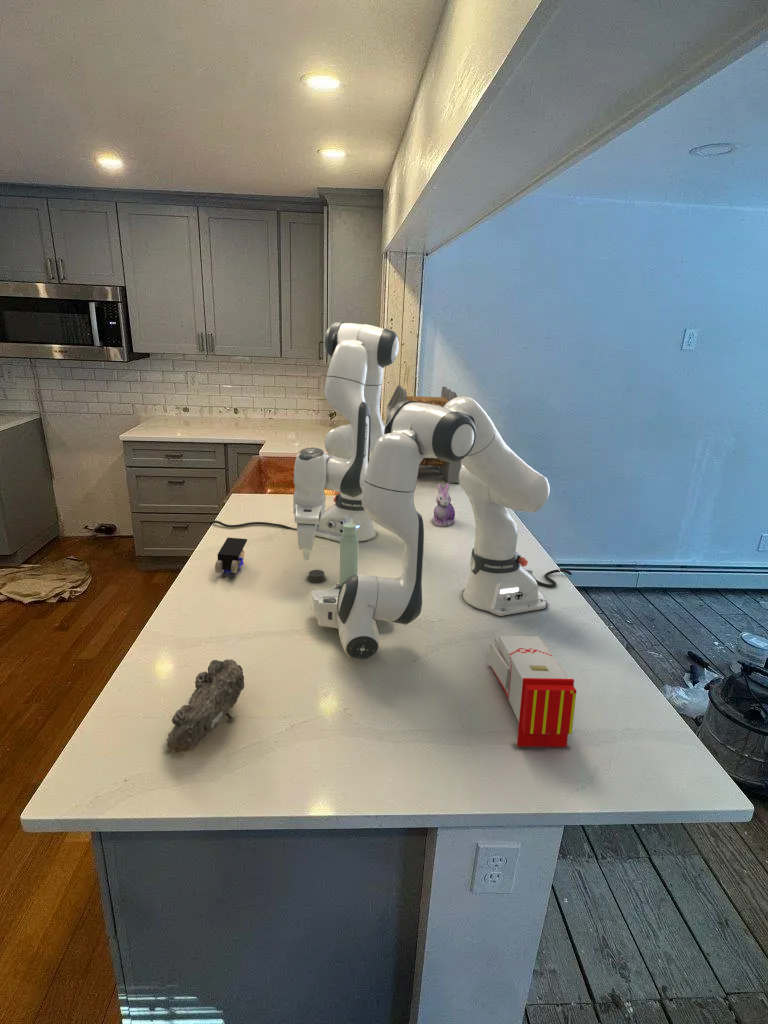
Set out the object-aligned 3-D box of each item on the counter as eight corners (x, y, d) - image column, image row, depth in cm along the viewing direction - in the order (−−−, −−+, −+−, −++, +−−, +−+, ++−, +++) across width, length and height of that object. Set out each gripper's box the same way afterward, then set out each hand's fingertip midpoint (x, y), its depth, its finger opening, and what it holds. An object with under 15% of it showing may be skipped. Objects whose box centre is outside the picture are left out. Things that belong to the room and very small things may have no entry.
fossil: (192, 660, 117) (244, 628, 112) (224, 691, 120) (276, 661, 115) (142, 746, 98) (202, 712, 93) (182, 779, 101) (242, 748, 96)
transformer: (382, 463, 289) (386, 382, 275) (445, 464, 293) (451, 384, 279) (390, 482, 257) (394, 392, 243) (460, 483, 261) (468, 394, 247)
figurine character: (238, 584, 162) (249, 557, 175) (236, 562, 158) (247, 536, 172) (215, 584, 161) (227, 556, 175) (212, 561, 158) (225, 535, 171)
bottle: (344, 599, 154) (345, 520, 146) (359, 603, 152) (362, 523, 144) (335, 607, 150) (337, 526, 142) (351, 611, 148) (353, 529, 140)
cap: (317, 584, 161) (317, 578, 161) (305, 579, 164) (305, 573, 163) (327, 578, 165) (327, 572, 164) (316, 574, 167) (316, 568, 167)
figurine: (440, 528, 206) (443, 489, 201) (425, 519, 214) (428, 481, 209) (461, 525, 210) (465, 486, 205) (446, 516, 219) (449, 478, 214)
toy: (536, 619, 129) (586, 686, 99) (531, 673, 131) (578, 754, 102) (483, 618, 128) (517, 685, 99) (479, 672, 131) (511, 753, 102)
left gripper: (300, 493, 167) (299, 536, 172) (294, 519, 148) (293, 567, 153) (322, 494, 168) (320, 537, 173) (318, 521, 149) (316, 568, 154)
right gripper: (396, 598, 138) (387, 573, 150) (311, 602, 134) (309, 576, 147) (395, 621, 140) (385, 594, 153) (311, 625, 136) (309, 598, 149)
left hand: (307, 551), depth 163 cm, fingers open, 8 cm apart
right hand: (347, 585), depth 150 cm, fingers closed on bottle, 5 cm apart
